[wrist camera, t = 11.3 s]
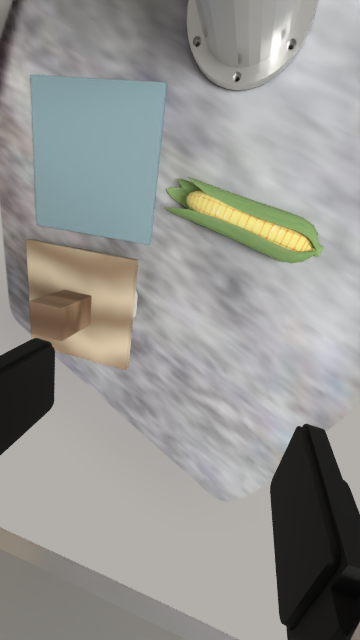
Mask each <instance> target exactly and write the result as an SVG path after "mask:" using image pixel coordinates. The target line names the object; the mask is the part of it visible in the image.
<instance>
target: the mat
mask: <svg viewBox="0 0 360 640" xmlns="http://www.w3.org/2000/svg"><path fill="white" fill-rule="evenodd" d="M30 77H31V100H32V124H33V147H34V170H35V194H36V217H37V225H40V226H46V227H51V228H57V229H63V230H68V231H74V232H80V233H85V234H91V235H97V236H102V237H108V238H114V239H120V240H125V241H131V242H137V243H142V244H148V245H151V236H152V226H153V217H154V207H155V197H156V187H157V178H158V168H159V158H160V148H161V138H162V129H163V119H164V109H165V99H166V89H167V83H166V82H149V81H131V80H113V79H96V78H78V77H60V76H43V75H30Z"/></svg>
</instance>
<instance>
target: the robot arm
mask: <svg viewBox="0 0 360 640" xmlns="http://www.w3.org/2000/svg"><path fill="white" fill-rule="evenodd" d="M317 4H318V0H188V5H187V21H186V23H187V33H188V39H189V43H190V47H191V51H192V53H193V56H194V59H195V61H196V63H197V65H198V66H199V68H200V70H201V71H202V72H203V73H204V75H205V76H206V77H207V78H208V79H209V80H211V81H212V82H214V83H215V84H216V85H218V86H221V87H223V88H226V89H231V90H246V89H252V88H255V87H257V86H260V85H263V84H264V83H266V82H268V81H270V80H271V79H273V78H274V77H275V76H277V75H278V74H279V73H280V72H282V71H283V70H284V69H285V68H286V67H287V66H288V64H289V63H290V62H291V61H292V60H293V59H294V57H295V56H296V54H297V53H298V51H299V50H300V48H301V47H302V45H303V43H304V41H305V39H306V37H307V35H308V33H309V31H310V28H311V25H312V22H313V19H314V16H315V12H316V8H317ZM197 45H199V47H197ZM289 47H292V48H293V49H292V50H289V49H288V48H289ZM236 79H239V81H238V82H235V80H236ZM54 367H55V349H54V347H52V344H51V342H49V341H46V340H43V339H39V338H34V339H31V340H30V341H28V342H26V343H24V344H22V345H20V346H18V347H16V348H14V349H12V350H11V351H8V352H6V353H5V354H3V355H1V356H0V455H1V454H2V453H3V452H4V451H5V450H7V449H8V448H9V447H10V446H11V445H12V444H13V443H14V442H15V441H17V440H18V439H19V438H20V437H21V436H22V435H23V434H24V433H25V432H26V431H27V430H28V429H30V428H31V427H32V426H33V425H34V424H35V423H36V422H37V421H38V420H39V419H41V417H43V416H44V415H45V414H46V413H47V412H48V411H49V410H50V409H51V407H52V406H53V403H54V373H55V372H54V370H55V368H54ZM270 493H271V508H272V520H273V521H272V522H273V535H274V548H275V562H276V576H277V590H278V603H279V615H280V620H281V623H282V624H284V625H286V626H287V638H288V640H360V514H359V511H358V509H357V506H356V504H355V501H354V498H353V495H352V493H351V490H350V488H349V486H348V484H347V483H346V482H345V481H344V480H343V479H342V476H341V473H340V471H339V468H338V465H337V462H336V459H335V457H334V454H333V451H332V449H331V446H330V443H329V440H328V437H327V435H326V432H325V430H323V429H321V428H318V427H315V426H312V425H309V424H304V425H303V427H300V426H298V427H297V428H296V430H295V432H294V434H293V436H292V438H291V440H290V443H289V445H288V447H287V449H286V451H285V453H284V455H283V457H282V460H281V462H280V464H279V466H278V468H277V470H276V472H275V474H274V477H273V479H272V482H271V487H270ZM0 640H238V639H236V638H234V637H232V636H230V635H228V634H226V633H224V632H222V631H220V630H218V629H216V628H214V627H212V626H210V625H208V624H206V623H204V622H202V621H200V620H198V619H195V618H193V617H191V616H189V615H187V614H185V613H183V612H181V611H178V610H176V609H174V608H172V607H170V606H168V605H166V604H163V603H161V602H159V601H157V600H155V599H153V598H151V597H149V596H147V595H144V594H142V593H140V592H138V591H136V590H134V589H132V588H130V587H128V586H125V585H123V584H121V583H119V582H117V581H115V580H113V579H110V578H108V577H106V576H104V575H102V574H100V573H98V572H95V571H93V570H91V569H89V568H87V567H85V566H83V565H80V564H78V563H76V562H74V561H72V560H70V559H67V558H65V557H63V556H61V555H59V554H57V553H55V552H52V551H50V550H48V549H46V548H44V547H42V546H40V545H37V544H35V543H33V542H31V541H29V540H27V539H24V538H22V537H20V536H18V535H16V534H13V533H11V532H9V531H7V530H5V529H3V528H1V527H0Z"/></svg>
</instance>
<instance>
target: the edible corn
mask: <svg viewBox="0 0 360 640" xmlns="http://www.w3.org/2000/svg"><path fill="white" fill-rule="evenodd" d="M189 179H190V180H191V181H192V182H193V183H191V182H189V181H186V180H183V179H178V181H179V183H180V185H181V187H182V188H179V187H172V188H169V189H166V190H167V191H168V193H169V195H170V196H171V197H172V198H173V199H175V200H176V201H177V202H179V203H180V204H181V205H183V206H184V207H186V209H180V208H165V209H166V210H168V211H169V212H171V213H173V214H175V215H178V216H180V217H183V218H185V219H187V220H190V221H192V222H195V223H197V224H199V225H202V226H204V227H206V228H209V229H211V230H213V231H216V232H218V233H220V234H222V235H225V236H227V237H229V238H231V239H234V240H236V241H238V242H240V243H242V244H244V245H246V246H248V247H250V248H252V249H255V250H257V251H259V252H261V253H263V254H265V255H267V256H270V257H272V258H274V259H276V260H279V261H284V262H288V263H297V262H303V261H305V260H306V259H308V258H310V257H312V256H315V257H318V256H319V255H320V253H321V252H322V250H323V246H321V245H319V242H318V233H317V231H316V229H315V227H314V225H313V224H311V223H310V222H308V221H307V220H306V219H304V218H302V217H300V216H297V215H294V214H292V213H289V212H287V211H284V210H280V209H277V208H274V207H271V206H268V205H265V204H262V203H259V202H256V201H253V200H250V199H248V198H245V197H242V196H239V195H236V194H233V193H231V192H228V191H225V190H222V189H220V188H217V187H214V186H212V185H209V184H206V183H203V182H201V181H198V180H195V179H193V178H190V177H189Z"/></svg>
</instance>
